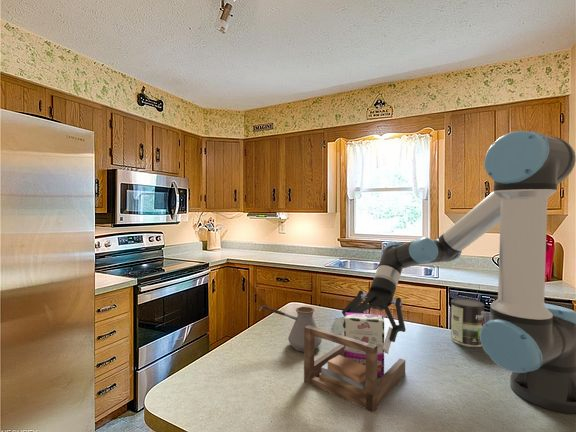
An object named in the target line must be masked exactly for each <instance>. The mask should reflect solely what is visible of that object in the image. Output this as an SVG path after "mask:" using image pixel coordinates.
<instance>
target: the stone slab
mask: <svg viewBox="0 0 576 432" xmlns="http://www.w3.org/2000/svg"><path fill="white" fill-rule="evenodd" d="M343 323H344V316H342V317H341V316H340V317H338V318H335V319H334V321H333V324H332V325H331V328H330V329H331V331H330V332H332V333H336V334H339V335H342V332H343V330H344V327H343Z"/></svg>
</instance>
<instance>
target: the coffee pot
mask: <svg viewBox="0 0 576 432" xmlns="http://www.w3.org/2000/svg"><path fill="white" fill-rule="evenodd" d="M262 309H265V310H266V311H270V312H272V313H274V314H277V315H280V316H283V317H287V318H289V319H292V320H295V321H294V323H293V326H292V327H291V330H290V332H289V334H288V338H287V340H288V342H289V344H290V346H292V347H293V348H294V349H295V350H297V351H298V352H303V353H304V327H306V326H308V325H310V326H313V327H316V328H318V326H317V323H316V320H315V318H314V312H315V308H313V307H310V306H298V307H297V308H295V312H296V313H297V316H293V315H290V314H287V313H285V312H283V311H281V310H278V309H276V308H272V307H269V306H266V305H263V304H262V305H260V307H259V312H261V311H262ZM322 341H323V338H319V337H316V336H314V351H315V350H317V348H318V347H319V346H320V345H321V343H322Z"/></svg>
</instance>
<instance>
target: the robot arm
mask: <svg viewBox="0 0 576 432" xmlns="http://www.w3.org/2000/svg"><path fill="white" fill-rule="evenodd" d="M486 151H487V152H486V154H485V157H484V161H483V162H484V164H483V166H484V169H485V172H486V174H487V175H488V176H489V177H490V178H491V179H492V180H493V191H492V192H490V193H489V195H487V196H486V197H484V199H482V200H481V201H480V202H479V203H478V204H477V205H475V206H474V207H473V208H472V209H470V210H469V211H468V212H467V213H466V214H465V215H464V216H463V217H461V218H460V219H459V220H457V221H456V222H455V223H454V224H453V225H452V226H451V227H449V228H448V229H447V230H446V231H445V232H443V233H442V234H441V235H440V236H439V237H438V238H436V239H431V238H429V237H421V238H415V239H414V240H412V241H409V242H407V243H402V242H401V241H397V240H396V241H389V242H388V243H387V244H386V245H385V248H384V250H383V251H382V255H381V258H380V261H379V264H378V267H377V269H376V272H375V274H374V277H373V280H372V282H371V285H370V288H369V291H368V292H363V290H359V291H358V292H357V294H356V296H355V297H354V298H353V299H352V300H351V301H350V302H349V303H348V304H347V306H345V307H344V308H343V310H342V311H341V313H342V316H343V317H345V312H347V313H362V314H364V312H365V311H367V310H370V309H374V310H379V311H384V312H385V314H386V316H387V318H388V320H389V323H390V326H391V327H390V326H389V327H388V329H387V333H386V337H385V338H384V345H383V348H382V349H383V350H384V354H389V351H390V347H391V344H392V343H395V342H396V339H397V335H398V333H399V332H402V333H405V332H406V325H405V321H404V315H403V309H402V308H403V301H402V299H401V297H396V298H394V296H395V293H396V291H397V290H396V289H397V286H398V284H399V281H400V277H401V276H402V275H401V274H402V271H403V269H407V268H412V267H415V266H419V265H427V264H435V263H442V262H443V263H447V262H448V263H449V262H452V261H455V260H457V259H459V258H460V257H461V255H462V251H464V249H466V248H467V247H468V246H470V245H472V243H474V242H475V241H477V240H479V239H480V237H482V236H483V235H485V234H486V233H488V231H489V232H490V230H491V229H493V228H494V227H496V226H497V225H498V224H499V257H498V258H499V259H498V285H497V286H498V289H497V299H496V300H494V301H492V302H491V303H490V307H489V309H490V311H489V320H487V321H486V322H485V323H484V325H483V326H482V328H481V331H480V340H481V344H482V346H481V347H482V349H483V350H484V352H485V353H486V354H487V355H488V356H489V358H490V360H492V362H494V363H495V364H496V365H497V366H499V367H501V368H502V369H504V370H506V371H509V372H511V374H510V376H509V377H510V378H509V380H510V381H509V384H510V385H509V386H510V388H511V390H512V391H513V392H514V393H515V394H516V395H518V396H519V397H520V398H522V399H524V400H525V401H527V402H529V403H531V404H534V405H535V406H538V407H541V408H543V409H546V410H550V411H554V412H556V413H557V412H558V413H563V414H572V415H573V413H576V310H573V309H570V308H568V307H564V306H559V305H555V304H550V303H545V290H546V288H545V286H546V285H545V283H546V282H545V281H546V256H547V254H546V251H547V225H548V224H547V222H548V221H547V219H548V199H549V198H550V197H551V196H553V195H554V194H555V193H557V190H558V185H560V184H561V183H562V182H563V181H564V180H566V179H567V177H569V175H570V174H571V173H572V171H573V170H574V168H575V165H576V152H575V150H574V148H573V146H572V145H570V143H569V142H568V141H566V140H564V139H562V138H560V137H556V136H550V135H546V134H542V133H540V132H537V131H533V130H527V131H526V130H517V131H511V132H508V133H506V134H504V135H501V136H500V137H499V138H498V139H496V140H495V141H494V142H493V143H492V144H491V145H490V146H489V148H488V150H486ZM392 304H393V305H394V307H395V310H396V317H397V322H398V324H396V321H395V319H394V317H393V315H392V312H391V310H390V308H389V307H390V306H391V305H392ZM343 327H344V323H343ZM342 335H343V336H344V330H343V332H342Z"/></svg>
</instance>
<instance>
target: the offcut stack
mask: <svg viewBox="0 0 576 432" xmlns="http://www.w3.org/2000/svg"><path fill="white" fill-rule="evenodd" d="M318 378H320V379H323V380H325V381H327V382H330V383H332V384H335V385H337V386H339V387H342V388H344V389H347V390H349V391H351V392H354V393H356V394H359V395H361V396H363V397H365V385H366V366H365V365H363V364H360V363H358V362H355V361H353V360H350V359H348V358H346V357H343V356H341V355H338V356H336V357H334V358H332V359H331V360H329V361H328V362H327V363H326V364H325V365H323V366H322V367H321V373H320V374H319V377H318Z"/></svg>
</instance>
